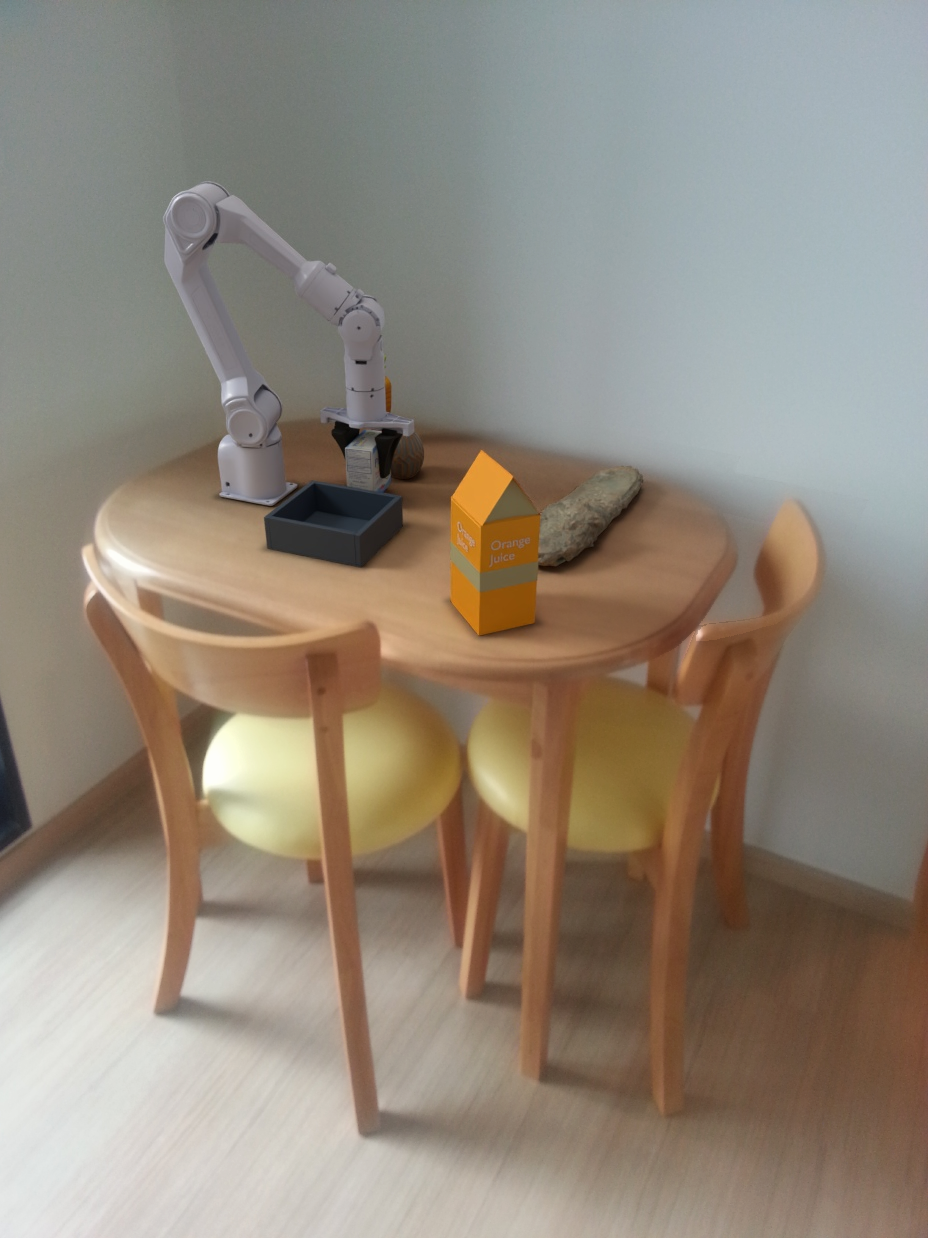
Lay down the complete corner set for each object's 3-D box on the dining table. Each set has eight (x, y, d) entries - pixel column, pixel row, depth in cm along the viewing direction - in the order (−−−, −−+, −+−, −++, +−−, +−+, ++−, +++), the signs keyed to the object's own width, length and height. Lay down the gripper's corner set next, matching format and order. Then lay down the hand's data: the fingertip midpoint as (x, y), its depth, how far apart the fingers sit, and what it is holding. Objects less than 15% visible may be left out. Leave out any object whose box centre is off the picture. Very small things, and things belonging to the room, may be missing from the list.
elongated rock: (657, 495, 153) (598, 485, 158) (660, 463, 151) (600, 454, 155) (570, 577, 126) (502, 563, 130) (572, 540, 124) (503, 527, 128)
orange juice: (478, 636, 115) (481, 481, 105) (449, 601, 122) (449, 452, 111) (536, 622, 118) (545, 470, 107) (505, 589, 125) (510, 443, 114)
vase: (432, 472, 157) (432, 420, 152) (408, 486, 152) (406, 433, 147) (398, 463, 160) (396, 412, 156) (373, 476, 155) (370, 424, 151)
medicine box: (374, 504, 144) (373, 449, 140) (346, 500, 145) (344, 446, 141) (391, 483, 151) (390, 431, 146) (364, 480, 152) (362, 427, 147)
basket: (266, 548, 134) (263, 517, 131) (314, 509, 145) (312, 479, 142) (361, 567, 129) (359, 535, 127) (403, 526, 140) (402, 495, 138)
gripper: (307, 387, 138) (314, 475, 145) (399, 400, 134) (401, 490, 141) (330, 373, 144) (336, 458, 151) (419, 385, 139) (420, 472, 147)
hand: (369, 473), depth 146 cm, fingers closed on medicine box, 5 cm apart
